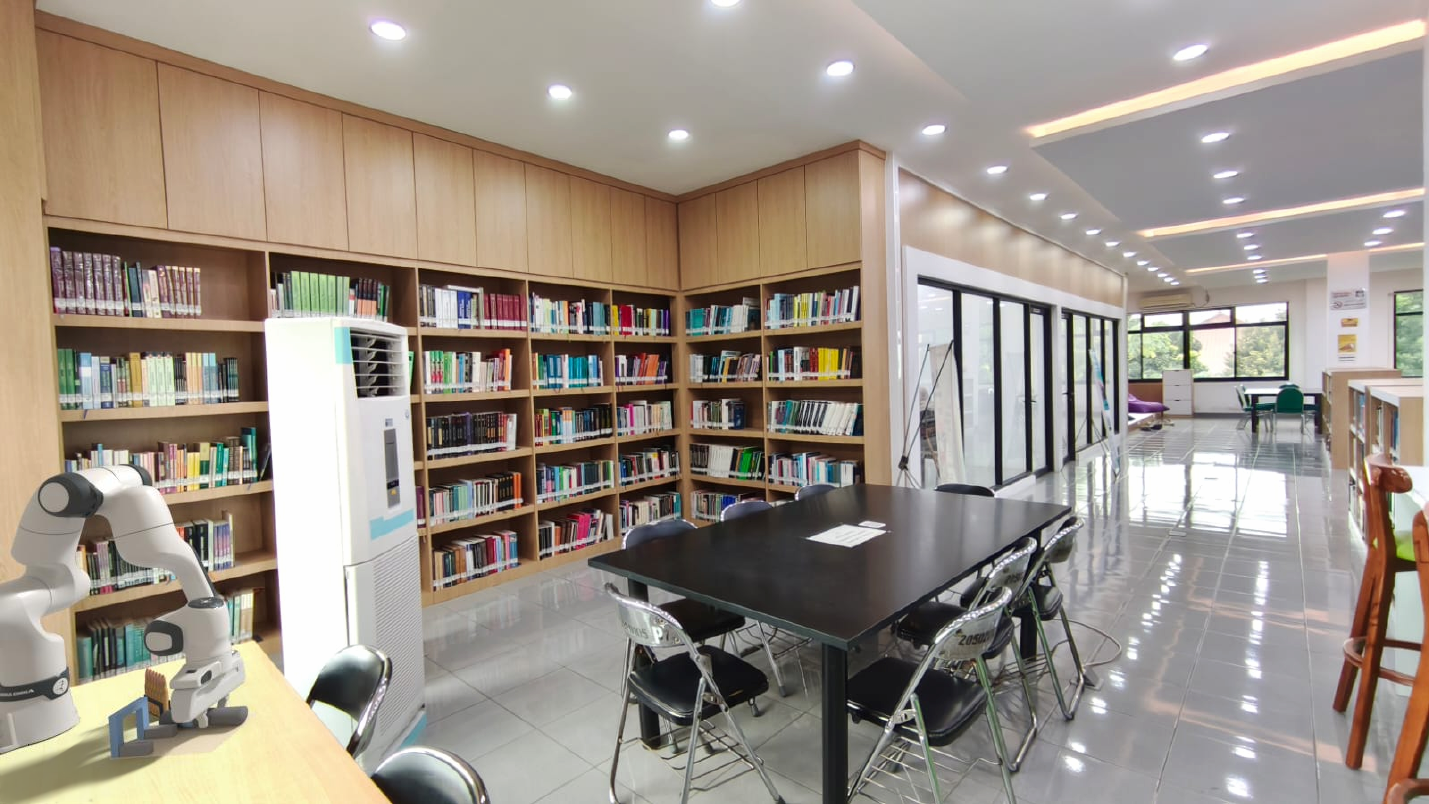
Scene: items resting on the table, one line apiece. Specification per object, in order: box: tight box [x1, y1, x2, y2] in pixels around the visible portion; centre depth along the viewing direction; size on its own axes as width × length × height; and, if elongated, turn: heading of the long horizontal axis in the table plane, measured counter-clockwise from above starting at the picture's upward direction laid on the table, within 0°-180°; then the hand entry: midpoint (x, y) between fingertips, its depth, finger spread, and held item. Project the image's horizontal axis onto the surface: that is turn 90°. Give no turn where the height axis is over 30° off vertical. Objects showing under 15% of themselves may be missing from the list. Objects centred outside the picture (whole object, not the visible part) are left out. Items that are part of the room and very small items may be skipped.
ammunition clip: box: [143, 667, 171, 718], centre depth 161 cm, size 11×2×12 cm, turn 61°
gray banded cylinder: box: [158, 705, 249, 728], centre depth 153 cm, size 18×4×4 cm, turn 94°
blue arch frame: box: [107, 696, 150, 758], centre depth 146 cm, size 2×9×10 cm, turn 4°
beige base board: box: [108, 712, 259, 760], centre depth 150 cm, size 22×17×4 cm
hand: (213, 720), depth 154 cm, fingers closed on gray banded cylinder, 4 cm apart
